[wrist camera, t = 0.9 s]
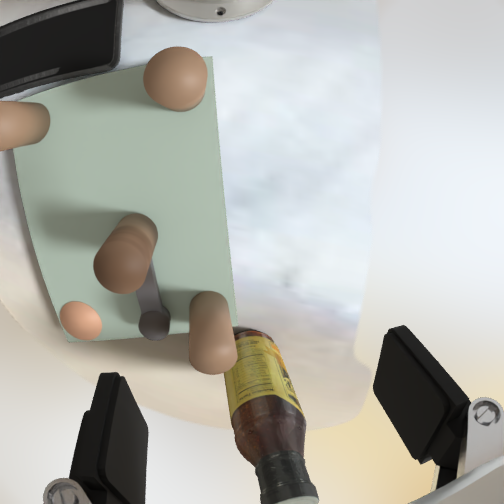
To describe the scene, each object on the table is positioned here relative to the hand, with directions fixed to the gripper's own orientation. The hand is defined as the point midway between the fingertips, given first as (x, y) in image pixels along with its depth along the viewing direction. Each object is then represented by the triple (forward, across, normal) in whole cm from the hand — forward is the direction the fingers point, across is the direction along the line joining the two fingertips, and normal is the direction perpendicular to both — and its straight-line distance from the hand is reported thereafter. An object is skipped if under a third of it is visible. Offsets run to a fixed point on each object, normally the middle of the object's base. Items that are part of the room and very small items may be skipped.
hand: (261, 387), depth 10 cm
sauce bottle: (+21, -2, +15) cm, 26 cm away
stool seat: (+20, +8, -2) cm, 22 cm away
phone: (+21, +14, -19) cm, 32 cm away
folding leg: (+18, +7, +4) cm, 19 cm away
